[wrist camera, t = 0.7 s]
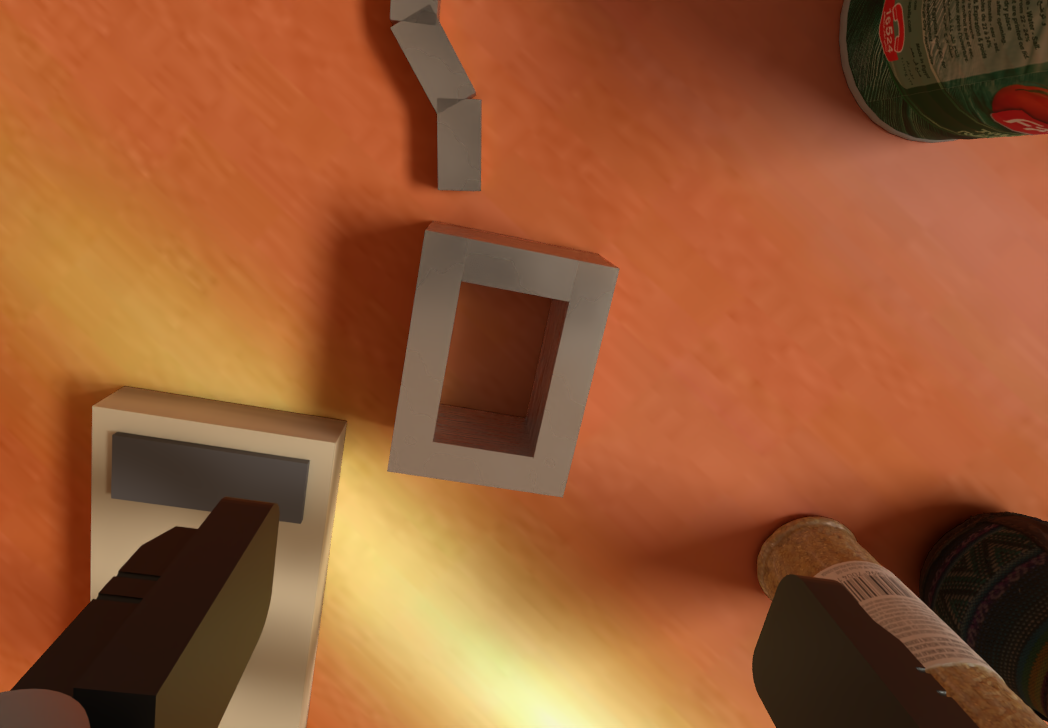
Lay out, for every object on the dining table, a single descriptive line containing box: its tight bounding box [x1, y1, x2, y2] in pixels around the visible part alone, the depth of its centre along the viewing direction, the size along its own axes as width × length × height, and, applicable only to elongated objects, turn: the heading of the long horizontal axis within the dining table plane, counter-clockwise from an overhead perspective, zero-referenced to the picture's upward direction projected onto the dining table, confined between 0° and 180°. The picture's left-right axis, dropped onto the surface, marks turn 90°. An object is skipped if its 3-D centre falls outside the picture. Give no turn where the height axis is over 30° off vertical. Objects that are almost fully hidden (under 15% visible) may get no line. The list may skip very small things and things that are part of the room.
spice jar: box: [757, 516, 1048, 728], centre depth 21 cm, size 5×5×13 cm
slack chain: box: [390, 0, 481, 191], centre depth 19 cm, size 11×2×1 cm, turn 12°
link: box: [387, 221, 619, 497], centre depth 22 cm, size 8×6×4 cm
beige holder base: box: [90, 386, 347, 728], centre depth 22 cm, size 18×8×8 cm, turn 168°
